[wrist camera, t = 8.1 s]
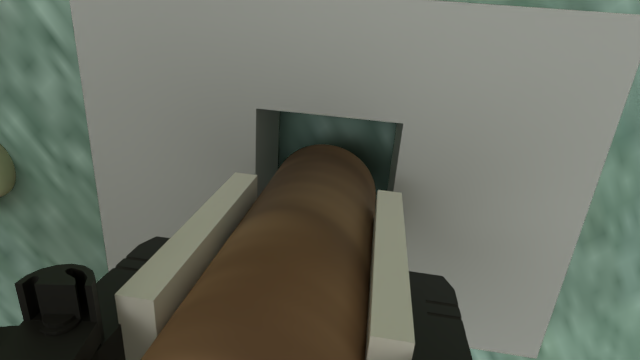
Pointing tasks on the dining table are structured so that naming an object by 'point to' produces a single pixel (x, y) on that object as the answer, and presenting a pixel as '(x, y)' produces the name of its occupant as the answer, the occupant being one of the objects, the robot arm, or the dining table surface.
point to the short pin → (6, 172)
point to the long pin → (286, 271)
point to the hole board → (370, 104)
